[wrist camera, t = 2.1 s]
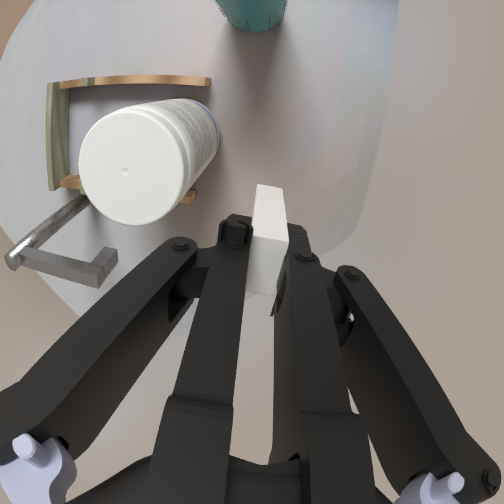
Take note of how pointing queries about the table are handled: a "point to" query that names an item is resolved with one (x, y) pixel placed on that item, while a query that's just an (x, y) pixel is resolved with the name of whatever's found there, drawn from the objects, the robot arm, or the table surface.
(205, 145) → the supplement tub
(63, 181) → the bay board
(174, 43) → the table surface
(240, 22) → the beverage bottle
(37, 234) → the hook post
